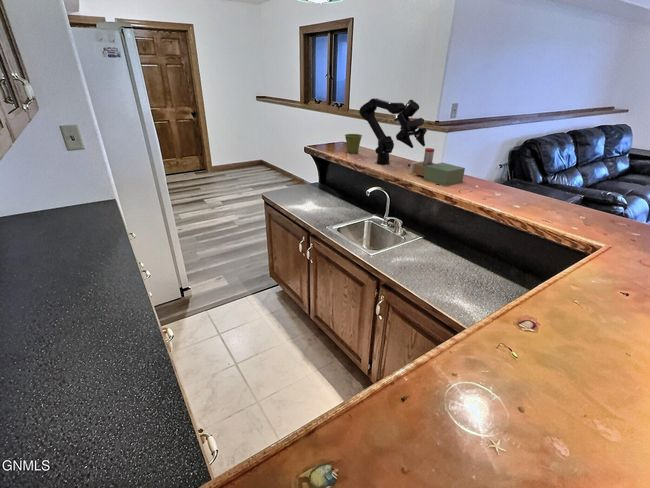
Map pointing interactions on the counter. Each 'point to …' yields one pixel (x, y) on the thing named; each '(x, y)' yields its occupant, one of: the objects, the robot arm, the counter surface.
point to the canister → (428, 156)
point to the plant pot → (353, 142)
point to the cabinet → (444, 173)
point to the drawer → (417, 168)
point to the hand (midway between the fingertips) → (418, 146)
